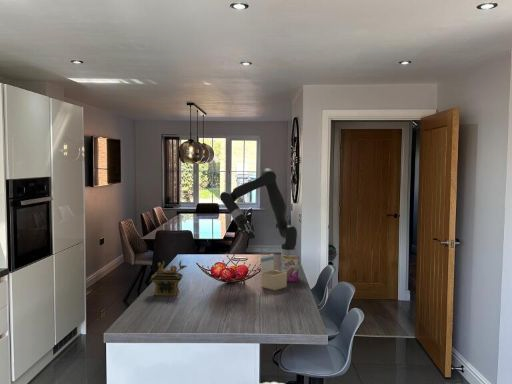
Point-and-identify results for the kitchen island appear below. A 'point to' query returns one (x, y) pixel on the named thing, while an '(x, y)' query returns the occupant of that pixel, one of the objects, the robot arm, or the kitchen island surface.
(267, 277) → the carton
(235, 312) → the kitchen island surface
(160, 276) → the decorative box
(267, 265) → the lid flap
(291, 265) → the candy bar box
